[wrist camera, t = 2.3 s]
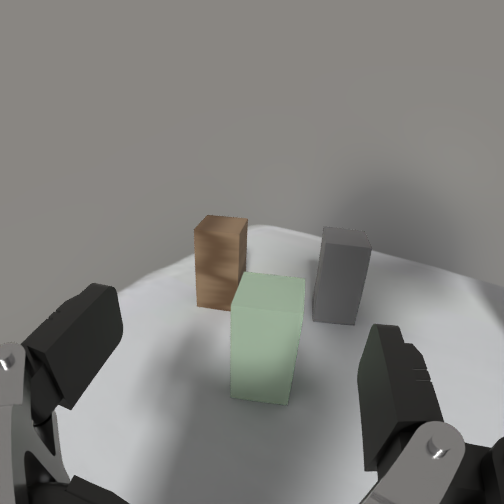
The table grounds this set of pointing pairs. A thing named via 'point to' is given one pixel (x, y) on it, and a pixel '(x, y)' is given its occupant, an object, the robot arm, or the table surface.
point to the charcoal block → (340, 275)
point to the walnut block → (219, 260)
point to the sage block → (265, 336)
